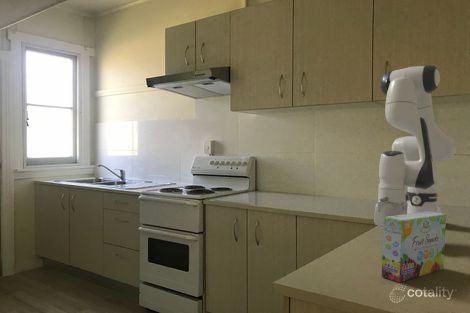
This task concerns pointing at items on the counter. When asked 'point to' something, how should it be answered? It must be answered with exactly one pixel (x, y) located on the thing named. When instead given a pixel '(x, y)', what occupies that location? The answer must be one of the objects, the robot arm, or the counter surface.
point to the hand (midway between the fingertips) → (390, 235)
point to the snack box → (413, 245)
